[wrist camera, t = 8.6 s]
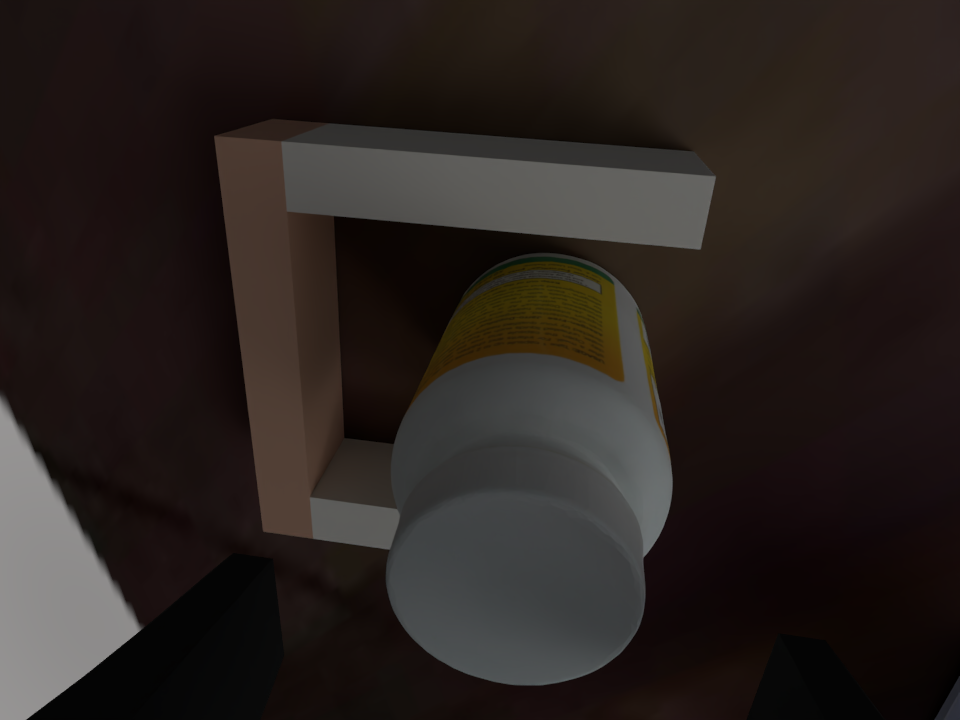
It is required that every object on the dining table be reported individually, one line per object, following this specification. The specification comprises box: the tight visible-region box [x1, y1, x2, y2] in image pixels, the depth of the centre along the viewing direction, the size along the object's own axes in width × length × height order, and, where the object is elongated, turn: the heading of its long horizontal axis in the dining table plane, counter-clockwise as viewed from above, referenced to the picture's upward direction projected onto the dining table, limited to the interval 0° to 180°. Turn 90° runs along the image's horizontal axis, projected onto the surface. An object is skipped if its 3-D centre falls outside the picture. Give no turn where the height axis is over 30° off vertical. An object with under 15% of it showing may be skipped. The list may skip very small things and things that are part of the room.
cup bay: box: [214, 119, 716, 550], centre depth 17 cm, size 11×10×3 cm
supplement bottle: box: [386, 253, 672, 685], centre depth 14 cm, size 5×5×10 cm
